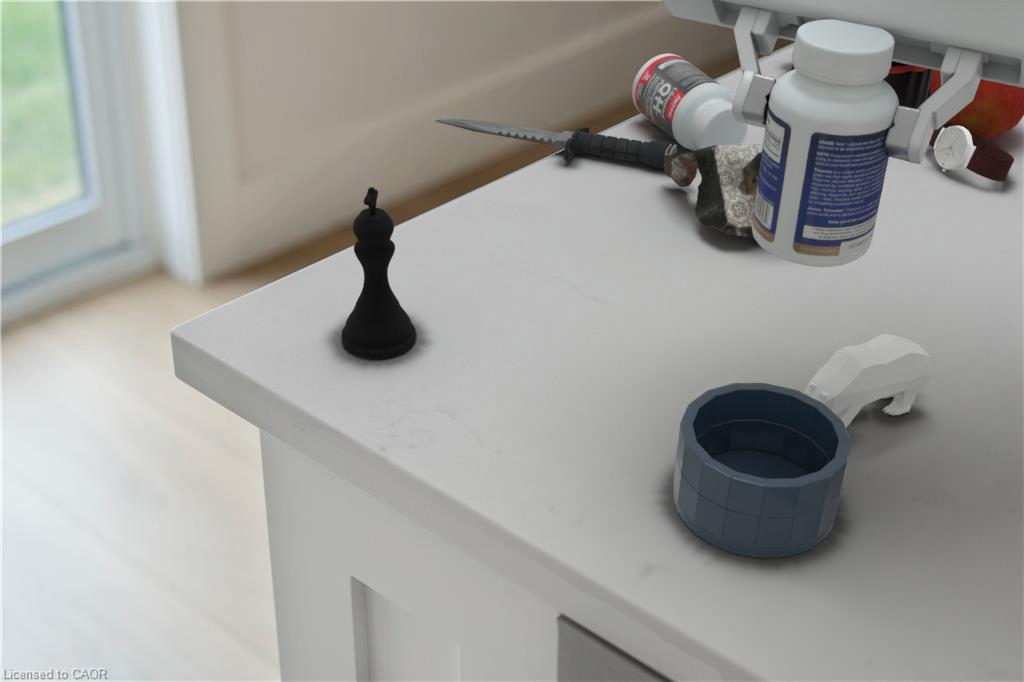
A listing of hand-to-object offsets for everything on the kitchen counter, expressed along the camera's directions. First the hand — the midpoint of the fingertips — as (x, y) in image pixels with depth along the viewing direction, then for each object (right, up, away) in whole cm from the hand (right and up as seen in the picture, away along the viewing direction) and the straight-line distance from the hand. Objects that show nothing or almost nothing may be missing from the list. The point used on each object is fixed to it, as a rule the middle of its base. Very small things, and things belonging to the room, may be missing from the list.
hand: (824, 138), depth 53 cm
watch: (+22, +7, +40) cm, 46 cm away
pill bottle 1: (-2, +12, +46) cm, 48 cm away
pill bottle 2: (0, -4, +4) cm, 6 cm away
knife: (-9, +8, +44) cm, 46 cm away
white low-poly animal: (+5, -13, +15) cm, 21 cm away
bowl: (-1, -17, +9) cm, 19 cm away
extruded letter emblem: (+10, +14, +51) cm, 54 cm away
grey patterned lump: (+2, 0, +34) cm, 34 cm away
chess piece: (-21, -9, +21) cm, 31 cm away
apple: (+22, +8, +42) cm, 48 cm away
